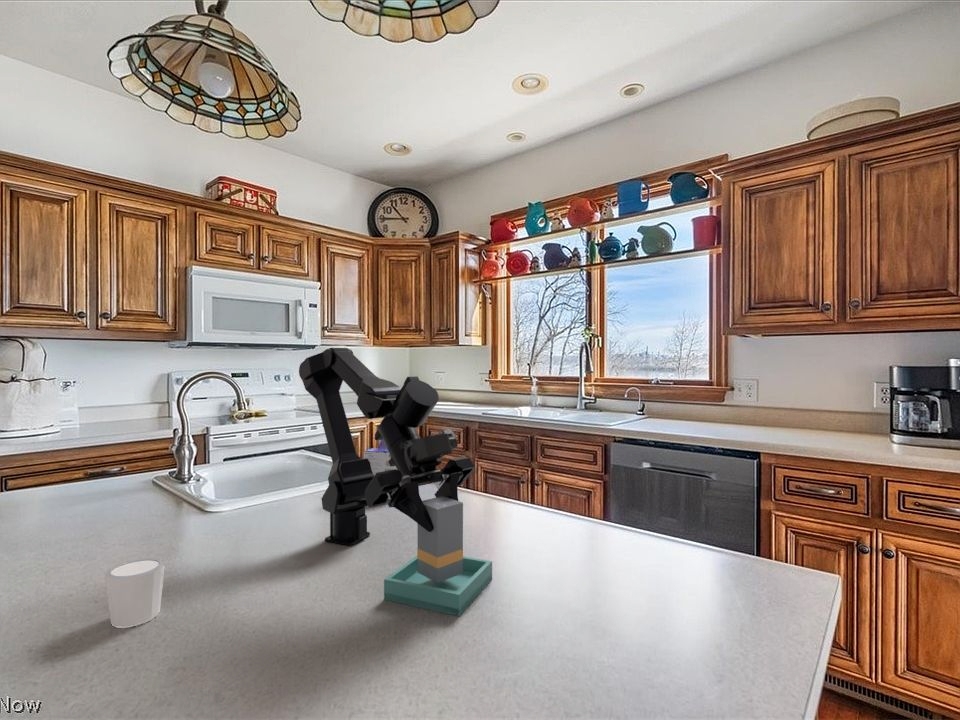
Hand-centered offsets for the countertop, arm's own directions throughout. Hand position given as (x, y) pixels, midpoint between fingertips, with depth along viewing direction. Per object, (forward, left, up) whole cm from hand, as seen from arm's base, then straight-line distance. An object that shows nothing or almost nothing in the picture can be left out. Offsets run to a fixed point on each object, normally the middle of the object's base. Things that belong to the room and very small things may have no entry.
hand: (445, 526), depth 76 cm
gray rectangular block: (-1, +1, -8) cm, 8 cm away
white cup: (-36, -23, -10) cm, 44 cm away
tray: (-1, +1, -10) cm, 10 cm away
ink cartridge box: (-38, +41, -10) cm, 57 cm away
